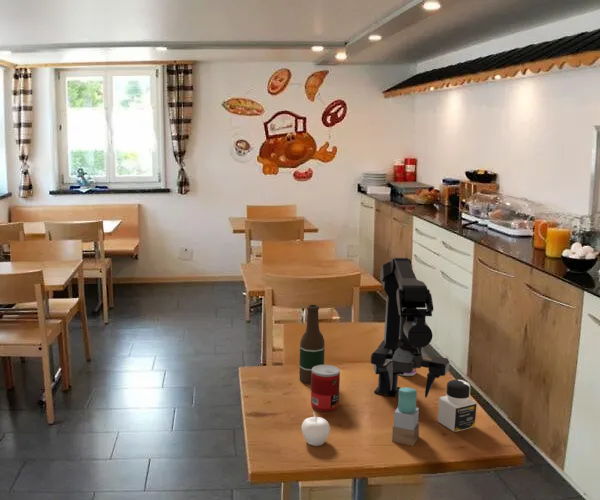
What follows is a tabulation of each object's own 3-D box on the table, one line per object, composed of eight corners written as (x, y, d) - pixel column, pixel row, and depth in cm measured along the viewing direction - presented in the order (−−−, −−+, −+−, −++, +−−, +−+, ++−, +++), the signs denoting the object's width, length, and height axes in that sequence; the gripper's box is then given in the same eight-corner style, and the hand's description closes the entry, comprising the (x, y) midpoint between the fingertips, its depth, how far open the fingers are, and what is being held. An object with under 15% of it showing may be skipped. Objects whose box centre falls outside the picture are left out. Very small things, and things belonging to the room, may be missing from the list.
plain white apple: (309, 433, 168) (310, 404, 166) (334, 440, 164) (335, 411, 163) (295, 444, 162) (296, 414, 160) (320, 452, 158) (321, 421, 157)
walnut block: (397, 432, 169) (398, 418, 168) (418, 436, 167) (419, 422, 166) (392, 441, 164) (392, 426, 164) (413, 446, 162) (414, 431, 161)
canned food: (336, 413, 180) (337, 375, 178) (308, 410, 181) (309, 373, 179) (340, 402, 187) (341, 365, 185) (313, 399, 189) (314, 363, 186)
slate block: (398, 418, 168) (399, 404, 167) (417, 422, 166) (418, 407, 165) (393, 426, 164) (394, 411, 163) (413, 430, 162) (414, 415, 161)
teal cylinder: (395, 410, 163) (396, 391, 163) (401, 405, 167) (402, 386, 166) (412, 414, 161) (413, 394, 160) (418, 408, 165) (419, 389, 164)
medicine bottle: (454, 432, 169) (457, 389, 167) (436, 421, 176) (439, 379, 173) (475, 427, 173) (478, 384, 170) (457, 416, 179) (460, 375, 177)
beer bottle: (308, 373, 208) (310, 300, 204) (328, 379, 204) (330, 305, 199) (294, 380, 202) (295, 306, 197) (314, 386, 198) (316, 310, 193)
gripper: (364, 337, 157) (362, 398, 160) (441, 349, 149) (437, 413, 152) (378, 325, 167) (376, 382, 170) (451, 336, 159) (447, 395, 162)
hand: (408, 393), depth 163 cm, fingers open, 9 cm apart
